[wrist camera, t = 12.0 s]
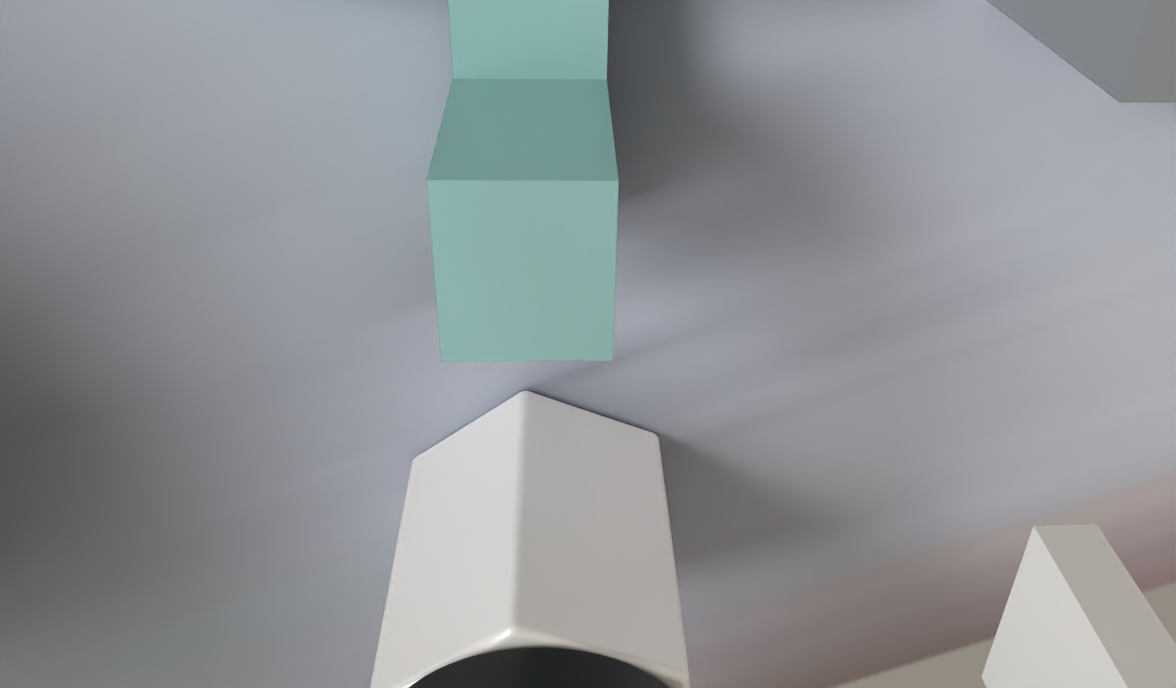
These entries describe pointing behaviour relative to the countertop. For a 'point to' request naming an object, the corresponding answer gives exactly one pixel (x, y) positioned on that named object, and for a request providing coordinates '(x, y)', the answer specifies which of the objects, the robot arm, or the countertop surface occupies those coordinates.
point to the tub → (1108, 41)
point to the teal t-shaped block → (525, 185)
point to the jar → (535, 558)
